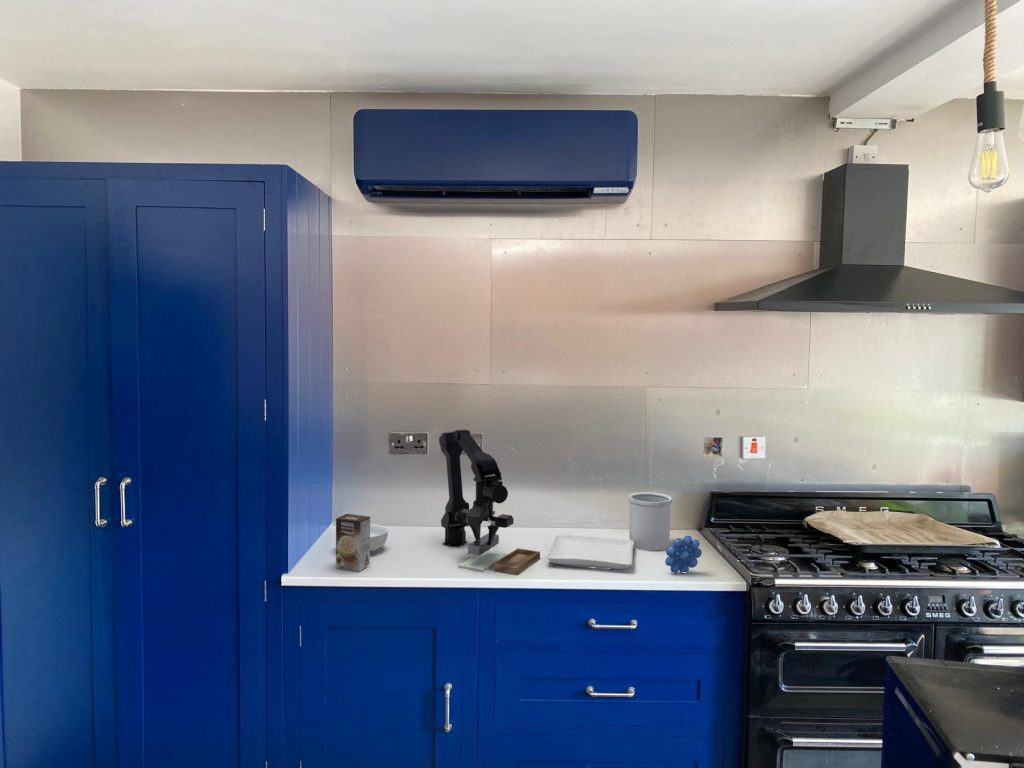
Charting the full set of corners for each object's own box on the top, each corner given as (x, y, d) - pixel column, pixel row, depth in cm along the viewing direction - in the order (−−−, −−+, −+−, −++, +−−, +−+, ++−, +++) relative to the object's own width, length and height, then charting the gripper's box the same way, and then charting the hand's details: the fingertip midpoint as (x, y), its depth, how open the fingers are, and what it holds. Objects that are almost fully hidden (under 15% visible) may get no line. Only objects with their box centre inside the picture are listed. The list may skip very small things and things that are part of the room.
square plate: (632, 575, 205) (632, 563, 205) (544, 568, 211) (544, 556, 211) (634, 549, 232) (634, 538, 232) (556, 543, 237) (556, 533, 237)
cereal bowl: (341, 560, 215) (341, 539, 215) (333, 546, 230) (332, 526, 230) (393, 554, 222) (393, 533, 221) (381, 541, 237) (381, 521, 237)
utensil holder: (668, 553, 226) (669, 503, 225) (624, 549, 231) (625, 499, 230) (672, 541, 240) (673, 494, 239) (631, 537, 245) (632, 490, 244)
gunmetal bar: (468, 553, 210) (468, 544, 210) (487, 542, 223) (488, 533, 223) (479, 555, 209) (479, 546, 209) (498, 543, 221) (498, 534, 221)
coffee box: (334, 568, 208) (334, 518, 207) (346, 562, 214) (345, 513, 213) (360, 572, 205) (360, 520, 204) (371, 565, 211) (371, 515, 210)
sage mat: (458, 567, 210) (458, 565, 210) (484, 551, 226) (484, 549, 226) (483, 571, 206) (483, 569, 206) (508, 555, 222) (508, 553, 222)
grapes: (695, 568, 212) (696, 531, 211) (704, 575, 205) (705, 537, 204) (660, 569, 210) (661, 531, 210) (667, 576, 204) (668, 538, 203)
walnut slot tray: (492, 571, 207) (493, 564, 207) (517, 554, 223) (517, 548, 223) (516, 575, 203) (516, 568, 203) (539, 558, 220) (540, 551, 220)
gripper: (446, 498, 212) (446, 546, 213) (499, 505, 204) (498, 555, 205) (464, 491, 222) (463, 537, 223) (514, 498, 214) (513, 545, 215)
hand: (483, 544), depth 216 cm, fingers closed on gunmetal bar, 4 cm apart
